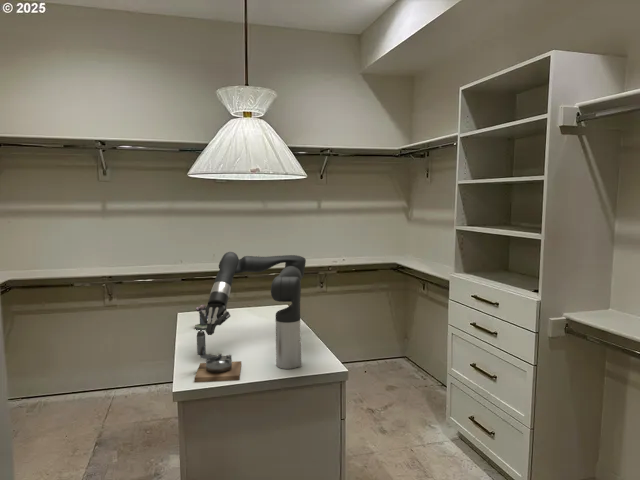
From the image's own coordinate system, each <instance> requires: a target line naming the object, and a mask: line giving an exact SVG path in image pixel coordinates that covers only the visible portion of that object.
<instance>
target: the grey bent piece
mask: <svg viewBox="0 0 640 480" xmlns="http://www.w3.org/2000/svg"><path fill="white" fill-rule="evenodd" d="M205 332H206V331H202V330H200V331H198V330H197V333H196V354H197V356H199V358H200V359H203V360H204V359H205V363H206V371H208V372H210V373H222V372H226V371H229V370H230V369H231V368H232V362H233V358H232V355H231V354H227V355H222V353H218V354H217V355H216V354H215V355H214V354H210V353H207V350H206V346H207V345H206V333H205Z"/></svg>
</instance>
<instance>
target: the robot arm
mask: <svg viewBox="0 0 640 480" xmlns="http://www.w3.org/2000/svg"><path fill="white" fill-rule="evenodd" d="M306 262H307V261H306V258H305V257H304V256H300V255H297V254H287V255H286V254H285V255H272V256H271V255H270V256H269V255H268V256H253V255H244V256H243V257H241V258H239V256H238V254H237V253H236V252H233V251H228V252H226V253H224V254H223V256H222V257H221V259H220V261H219V264H218V269H219V270H218V272H217V274H216V276H215V280H214V283H213V286H212V288H211V291H210V293H209V297H208V301H207V306H206V308H205V310H204V311H199V312H198V314H199V317H200V316H201V318H202V320H203V321H204V323H205V325H207V328H206V330H205V332H206V333H205V334H207V336H212V335H213V334H214V333H215V330H216V327H217V326H222V325H223V323H225V322H226V321H227V320H228V319H229V318H231V314H230V312H229V311H227V307H228V302H229V299H230V295H231V289H232V285H233V281H234V276H235V274H241V273H262V272H265V271H267V270H270V269H271V268H272V267H274V266H277V265H279V264H282V263H285V265H284V268H283V269H282V270H281V271H280V273H279V274H278V275H277V276H275V277H274V279H273V280H272V282H271V286H270V294H271V297H272V299H273V301H276V302H280V303H281V302H283V303H287V302H288V303H289V302H290V303H291V304H290V305H289V306H287V307H285V308H282V309H279V310H278V311H276V313H275V366H276V367H277V368H279V369H286V370H287V369H289V370H290V369H291V370H292V369H295V368H300V367H302V340H301V337H302V336H301V335H302V333H301V294H302V283H301V281H302V279H303V278H304V275H305V269H306ZM206 313H207V315H208V319H207V320H206V318H205V316H206Z"/></svg>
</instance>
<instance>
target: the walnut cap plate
mask: <svg viewBox="0 0 640 480" xmlns="http://www.w3.org/2000/svg"><path fill="white" fill-rule="evenodd" d="M241 370H242V361H241V360H238V361H237V360H236V361H232V368H231V369H230V370H229V371H226V372H222V373H210V372H208V371H206V362H200V363H199V365H198V368H197V370H196V373H195V376H194V383H200V382H202V383H203V382H204V383H205V382H219V381H220V382H221V381H239V380H240V377H241Z"/></svg>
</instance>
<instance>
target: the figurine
mask: <svg viewBox="0 0 640 480" xmlns="http://www.w3.org/2000/svg"><path fill="white" fill-rule="evenodd" d="M206 307H207V306H206V305H205V304H204V303H203V304H201V305H199V306H196V308H195V311H196V312H198V313H199V311H204V310H205V308H206ZM205 318H206V320H207V321H208V315H207V313H206V316H205ZM206 328H207V325H205V323H204V321H203V320H202V318H201V316H200V315H199V323H197V324H195V325H194V330H195V329H196V330H195V331H198V330H205V331H206Z"/></svg>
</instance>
